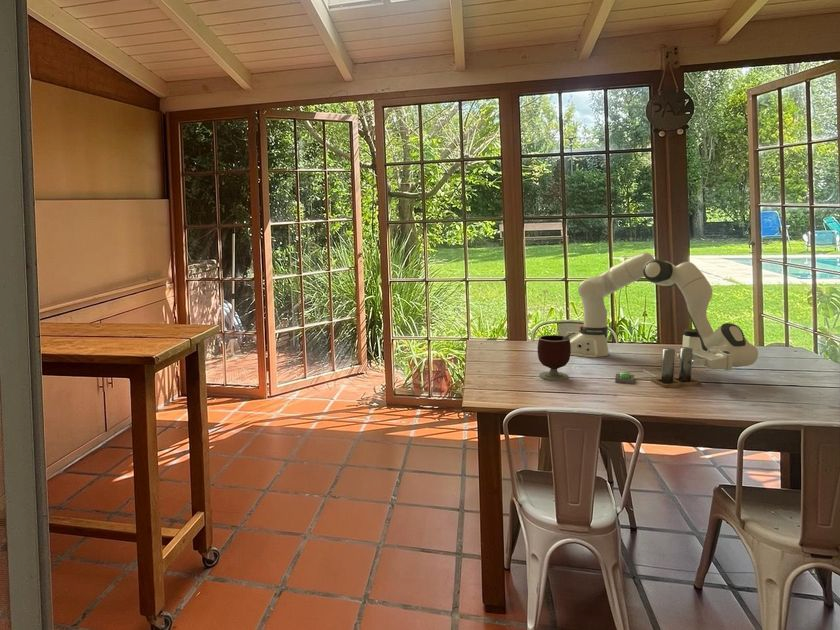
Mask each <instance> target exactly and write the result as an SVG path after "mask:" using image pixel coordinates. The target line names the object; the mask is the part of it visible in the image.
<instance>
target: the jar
mask: <svg viewBox="0 0 840 630" xmlns="http://www.w3.org/2000/svg"><path fill="white" fill-rule="evenodd" d="M682 347H689V348H693V349H701V350H703V349H702V346H701V341H700V338H699V336H698V334H697V331H696V329H695V328H686V329H684V330H683V335H682Z"/></svg>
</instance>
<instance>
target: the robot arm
mask: <svg viewBox="0 0 840 630" xmlns="http://www.w3.org/2000/svg"><path fill="white" fill-rule="evenodd" d="M642 278H645V279H646V281H648V282H650V283H652V284H654V285H657V286H663V287H666V288H671V287H674V286H677V288H679V290H680V292H681V294H682V295H683V298H684V301H685V304H686V309H687V313H688V317H689V318H690V320H691V322H692V325H693V327H694V329H696V331H697V334H698V336H699V338H700V341H701V346H702V350H701V349H693V354H692V360H691V361H692V362H691V363H692V365H698V366H699V365H700V366H703V367H707V368H710V369H712V370H724V371H732V369H733V368H742V367H748V366H751V365H753V364H755V363H756V361H757V360H758V357H759V350H758V347H756V346H755V345H754V344H752V343H750V342H749V340H748V339H747V338H746V337H745V335H744V332H743V330H742V329H741V327H740V326H738V325H736V324H734V323H732V322H731V323H730V322H725V323H722V325H720V326H719V327H718V328H717V329H715V330H713V327H712V326H711V324H710V321H709V319H708V317H707V316H708V315H707V310H708V306H709V303H710V302H711V299H712V297H713V288H712V286H711V284H710V282H709V281H708V279H707V278H706V277H705V275H704V273H702V271H701V270H700V269H699V268H698V267H697V266H696V265H695V264H694V263H693V262H690V261H683V262H681V263H678V264H677V265H675V264H673V263H671V262H670V261H668V260H667V261H666V260H663V259H661V258H660V259H659V258H656V259H655V258H654V256H653V255H652V254H650V253H648V252H641V253H638V254H635V255H633V256H630V257H628V258H626V259H624V260H622V261H620V262H619V263H617V264H615V265H613V266H611V267H609V268H608V269H606V270H605V271H604V272H602V273H600V274H598V275H596V276H593V277H587V278H585V279H584V280H582V281H581V282H580V283H579V285H578V286H577V293H578V295H579V296H580V298H581V303H582V308H583V324H580V325H579V327H578V328H579V329H578V330H579V331H578V333H577V334H575V335H574V336H573V337H571V338H570V345H571V354H570V356H574V357H585V358H598V357H599V358H601V357H606V356H609V355H610V349H609V347H608V346H609V345H608V336H609V334H608V333H609V331H608V330H609V329H608V311H607V308H606V305H605V300H604V299H605V297H607V296H609V295H612V294H613V293H615V292H617V291H618V290H620V289H622V288H624V287H627V286H629V285H630V284H632V283H635V282H636V281H638V280H641V279H642ZM676 359H679V360H680V353H677V354H676Z"/></svg>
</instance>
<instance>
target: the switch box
mask: <svg viewBox="0 0 840 630" xmlns="http://www.w3.org/2000/svg"><path fill="white" fill-rule="evenodd" d="M634 377H635V374H630V378H620V373H615V377H614V378H615V380H614V382H615V383H617V384H629V385H634V384H635V379H634Z"/></svg>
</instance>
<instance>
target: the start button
mask: <svg viewBox="0 0 840 630" xmlns="http://www.w3.org/2000/svg"><path fill="white" fill-rule="evenodd" d="M619 374H620V378H630V375H631V372H620V371H619Z"/></svg>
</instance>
